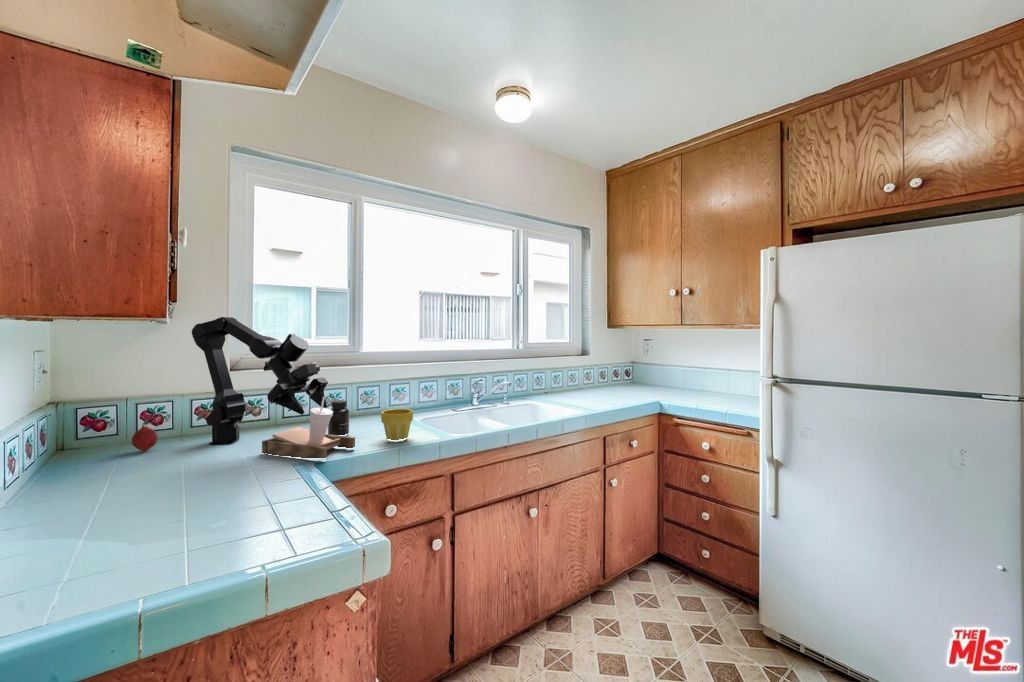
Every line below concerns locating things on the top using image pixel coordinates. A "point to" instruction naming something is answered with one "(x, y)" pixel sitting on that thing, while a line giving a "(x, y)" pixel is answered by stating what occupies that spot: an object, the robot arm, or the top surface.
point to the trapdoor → (303, 438)
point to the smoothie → (319, 423)
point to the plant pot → (397, 423)
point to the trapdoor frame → (303, 447)
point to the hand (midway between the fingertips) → (315, 410)
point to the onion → (144, 438)
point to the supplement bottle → (339, 419)
